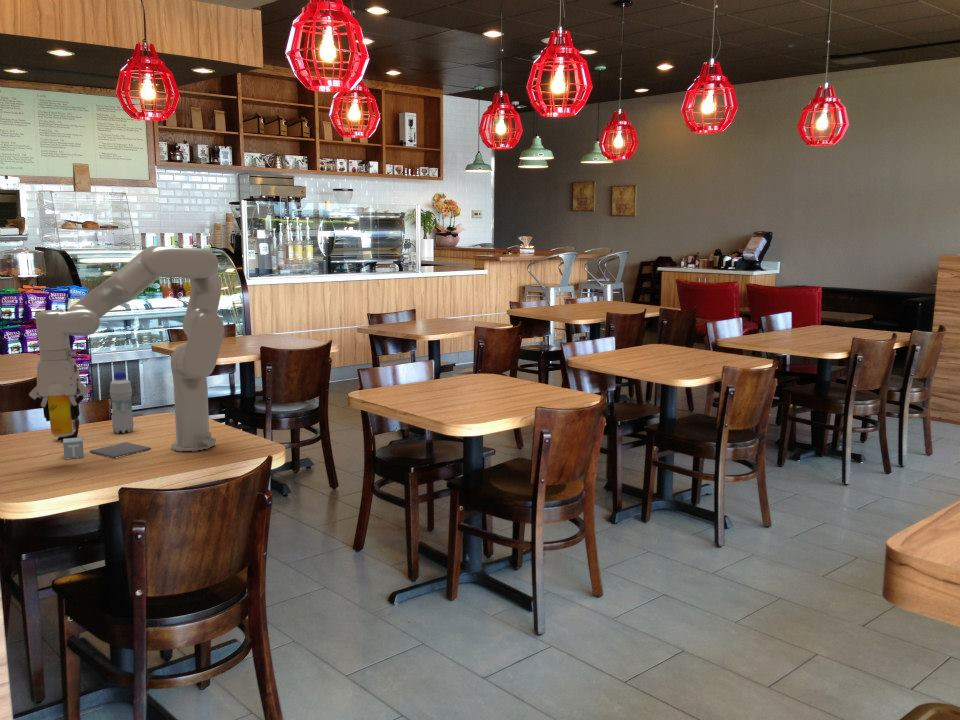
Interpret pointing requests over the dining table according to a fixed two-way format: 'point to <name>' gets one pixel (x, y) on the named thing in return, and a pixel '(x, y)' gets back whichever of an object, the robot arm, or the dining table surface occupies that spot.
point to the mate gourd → (75, 431)
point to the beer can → (60, 411)
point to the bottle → (121, 403)
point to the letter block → (73, 447)
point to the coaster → (120, 449)
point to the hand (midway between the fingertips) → (62, 419)
